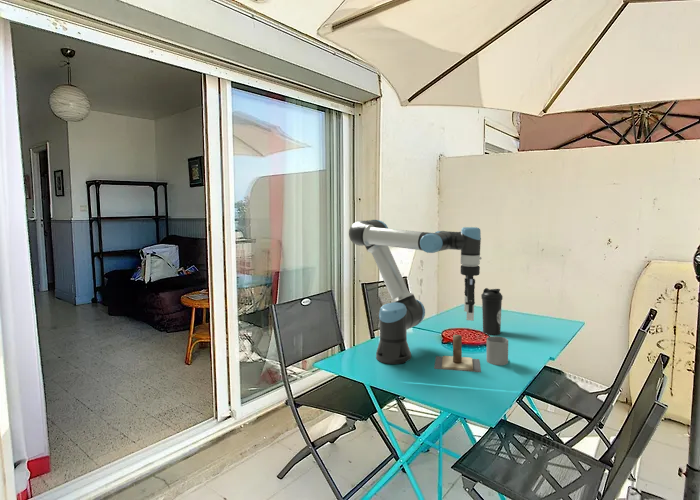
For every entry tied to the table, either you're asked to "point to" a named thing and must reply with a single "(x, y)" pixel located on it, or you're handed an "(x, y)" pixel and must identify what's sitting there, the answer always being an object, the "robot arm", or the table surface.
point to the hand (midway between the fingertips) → (468, 315)
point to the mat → (475, 369)
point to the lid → (457, 357)
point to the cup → (497, 350)
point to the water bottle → (491, 311)
